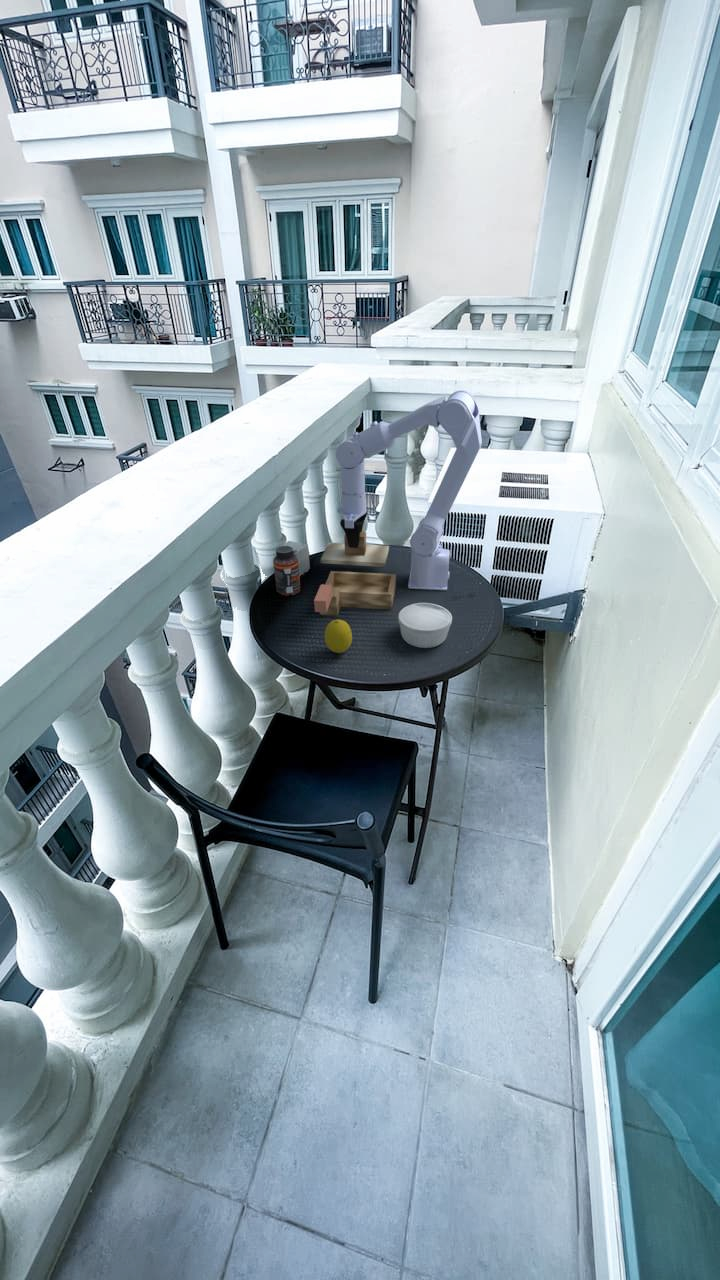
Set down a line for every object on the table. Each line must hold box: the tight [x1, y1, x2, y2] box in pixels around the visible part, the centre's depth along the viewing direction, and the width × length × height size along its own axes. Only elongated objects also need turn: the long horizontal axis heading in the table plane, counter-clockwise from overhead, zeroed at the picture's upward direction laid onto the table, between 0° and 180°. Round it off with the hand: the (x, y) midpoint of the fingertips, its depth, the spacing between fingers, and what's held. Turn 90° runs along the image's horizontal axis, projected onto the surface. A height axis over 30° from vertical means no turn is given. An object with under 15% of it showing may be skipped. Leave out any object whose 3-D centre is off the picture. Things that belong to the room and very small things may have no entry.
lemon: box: [324, 619, 353, 654], centre depth 110 cm, size 6×6×8 cm
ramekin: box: [397, 602, 453, 649], centre depth 115 cm, size 11×11×5 cm
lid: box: [320, 531, 390, 568], centre depth 136 cm, size 16×10×6 cm, turn 82°
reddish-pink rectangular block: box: [313, 583, 333, 613], centre depth 117 cm, size 2×7×3 cm, turn 172°
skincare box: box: [281, 540, 311, 577], centre depth 140 cm, size 6×6×7 cm
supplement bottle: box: [272, 545, 301, 597], centre depth 131 cm, size 6×6×11 cm
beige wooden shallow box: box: [319, 570, 397, 617], centre depth 128 cm, size 16×14×5 cm
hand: (354, 544), depth 136 cm, fingers closed on lid, 3 cm apart
